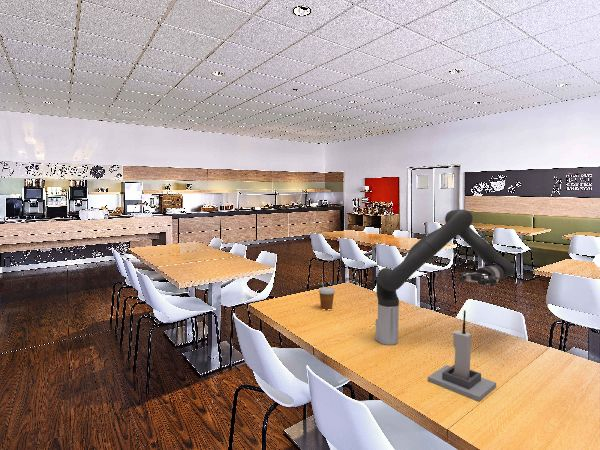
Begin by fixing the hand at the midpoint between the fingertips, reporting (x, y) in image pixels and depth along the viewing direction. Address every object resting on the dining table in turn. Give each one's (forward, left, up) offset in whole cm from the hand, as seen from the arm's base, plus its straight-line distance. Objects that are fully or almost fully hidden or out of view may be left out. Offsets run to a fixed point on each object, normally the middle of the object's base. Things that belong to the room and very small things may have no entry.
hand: (470, 280), depth 150 cm
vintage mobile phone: (+7, -23, -31) cm, 39 cm away
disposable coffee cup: (-84, +4, -32) cm, 90 cm away
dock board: (+8, -23, -32) cm, 40 cm away
